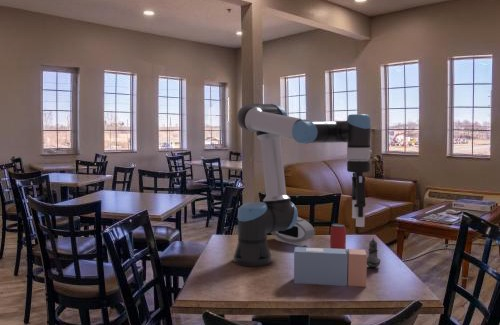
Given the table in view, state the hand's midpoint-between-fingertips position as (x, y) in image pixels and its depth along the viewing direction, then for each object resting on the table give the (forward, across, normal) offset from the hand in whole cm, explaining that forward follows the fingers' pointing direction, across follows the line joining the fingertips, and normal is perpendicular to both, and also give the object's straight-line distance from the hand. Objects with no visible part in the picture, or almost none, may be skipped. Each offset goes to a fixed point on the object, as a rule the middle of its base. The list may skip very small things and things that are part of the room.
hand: (357, 222), depth 143 cm
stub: (+21, 0, 0) cm, 21 cm away
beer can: (+22, +38, +5) cm, 44 cm away
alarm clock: (+22, +51, +26) cm, 61 cm away
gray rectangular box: (+22, 0, +13) cm, 25 cm away
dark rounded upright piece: (+22, +17, -7) cm, 29 cm away
